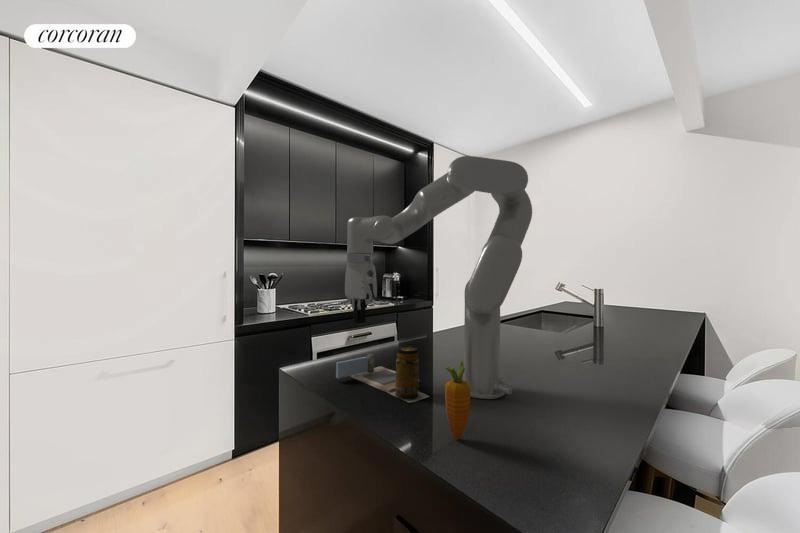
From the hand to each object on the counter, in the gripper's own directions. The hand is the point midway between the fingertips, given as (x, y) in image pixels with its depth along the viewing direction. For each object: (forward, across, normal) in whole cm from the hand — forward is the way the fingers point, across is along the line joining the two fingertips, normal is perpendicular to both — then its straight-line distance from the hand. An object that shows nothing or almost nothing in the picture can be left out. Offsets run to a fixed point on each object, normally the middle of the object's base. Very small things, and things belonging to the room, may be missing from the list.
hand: (359, 322), depth 98 cm
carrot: (+17, -40, +7) cm, 44 cm away
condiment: (+17, -18, -2) cm, 25 cm away
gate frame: (+17, -5, -6) cm, 19 cm away
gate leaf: (+16, +2, +1) cm, 16 cm away
